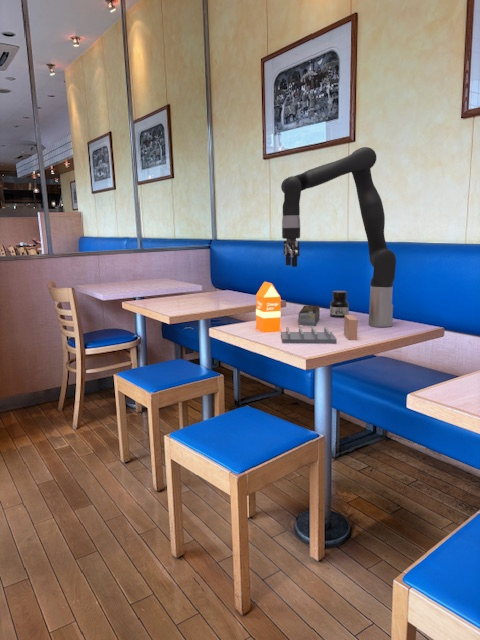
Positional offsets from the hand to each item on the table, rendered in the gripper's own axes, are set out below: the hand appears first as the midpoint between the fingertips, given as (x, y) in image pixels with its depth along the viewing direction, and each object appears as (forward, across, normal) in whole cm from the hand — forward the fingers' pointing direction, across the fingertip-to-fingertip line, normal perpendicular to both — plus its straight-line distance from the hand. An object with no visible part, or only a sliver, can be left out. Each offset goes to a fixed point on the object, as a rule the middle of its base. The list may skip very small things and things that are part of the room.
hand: (291, 266), depth 202 cm
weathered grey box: (+27, +10, -12) cm, 31 cm away
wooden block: (+27, -23, -17) cm, 39 cm away
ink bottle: (+27, +20, -30) cm, 45 cm away
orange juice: (+26, -3, +11) cm, 29 cm away
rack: (+26, -23, +1) cm, 35 cm away
